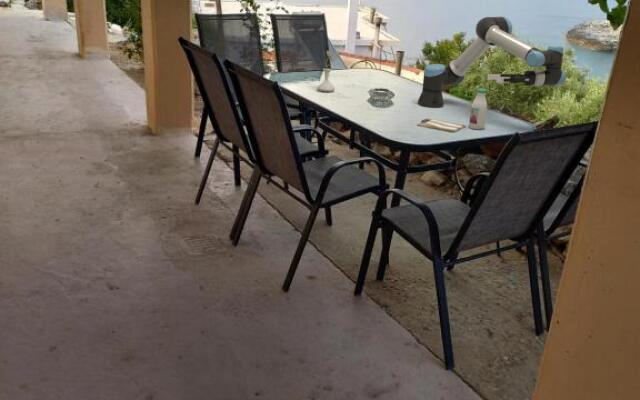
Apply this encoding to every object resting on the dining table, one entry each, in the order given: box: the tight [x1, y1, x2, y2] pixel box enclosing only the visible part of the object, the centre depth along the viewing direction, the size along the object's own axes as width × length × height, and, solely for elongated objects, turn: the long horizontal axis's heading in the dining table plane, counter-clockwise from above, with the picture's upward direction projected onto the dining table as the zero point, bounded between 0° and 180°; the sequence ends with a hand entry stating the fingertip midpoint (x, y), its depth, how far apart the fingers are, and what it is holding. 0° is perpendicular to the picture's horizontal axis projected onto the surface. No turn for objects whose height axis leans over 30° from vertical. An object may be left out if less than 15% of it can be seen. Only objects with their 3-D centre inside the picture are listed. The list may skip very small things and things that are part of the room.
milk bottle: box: [468, 88, 488, 130], centre depth 300 cm, size 8×8×20 cm
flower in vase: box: [317, 50, 336, 93], centre depth 372 cm, size 13×11×25 cm
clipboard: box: [416, 118, 466, 134], centre depth 303 cm, size 16×20×2 cm
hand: (491, 78), depth 296 cm, fingers open, 13 cm apart
